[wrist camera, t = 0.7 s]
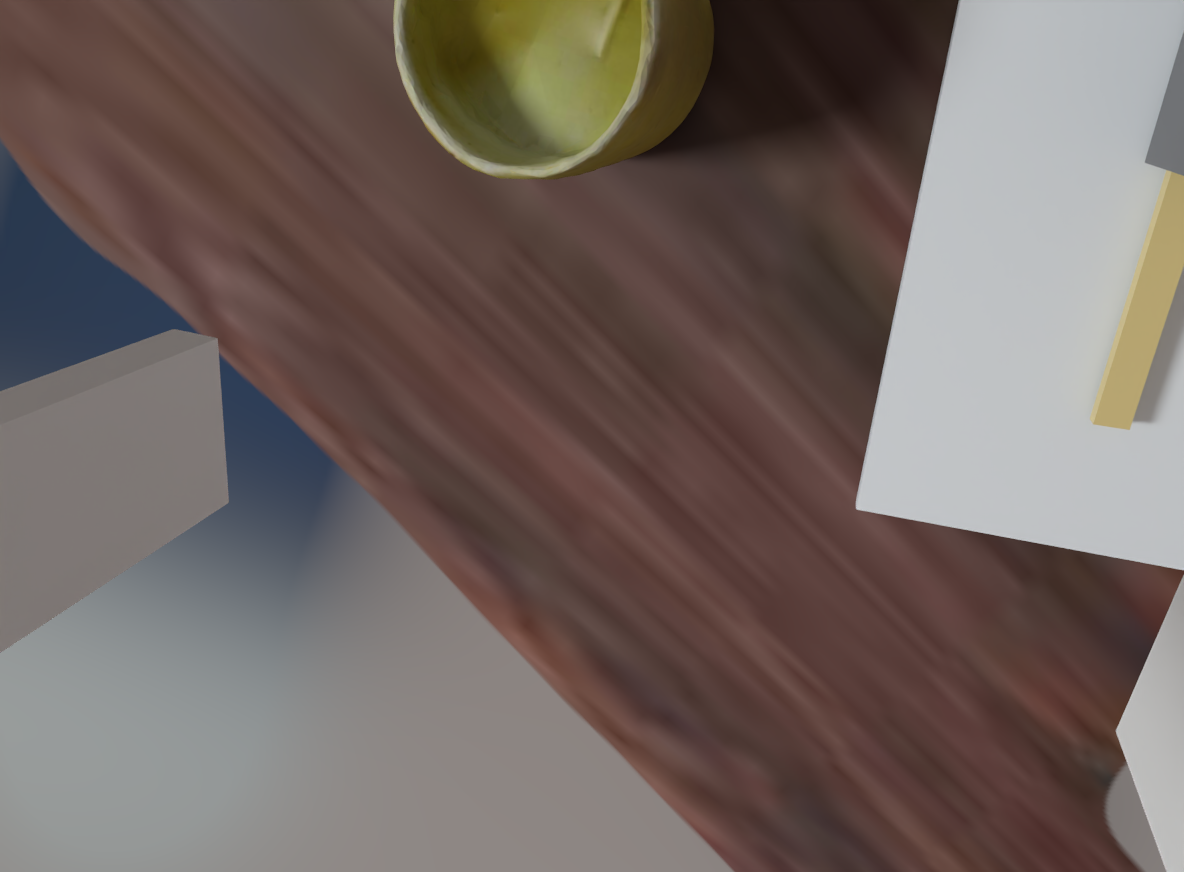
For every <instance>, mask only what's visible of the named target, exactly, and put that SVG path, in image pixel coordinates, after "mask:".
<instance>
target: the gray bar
mask: <svg viewBox="0 0 1184 872" xmlns="http://www.w3.org/2000/svg"><path fill="white" fill-rule="evenodd" d="M1145 163H1147V164H1150V165H1153V166H1156V167H1159V168H1162V169H1165V170H1166V173H1165V176H1164V179H1163V183H1162V186H1161V189H1160V192H1159V196H1158V199H1157V202H1156V205H1155V209H1154V212H1153V215H1152V218H1151V222H1150V225H1149V228H1148V231H1147V234H1146V238H1145V241H1144V244H1143V247H1142V251H1141V254H1140V257H1139V260H1138V264H1137V267H1136V270H1135V273H1134V277H1133V280H1132V283H1131V286H1130V290H1129V293H1128V296H1127V299H1126V303H1125V306H1124V309H1123V312H1122V315H1121V319H1120V322H1119V325H1118V328H1117V332H1116V335H1115V338H1114V341H1113V345H1112V348H1111V351H1110V354H1109V358H1108V361H1107V364H1106V367H1105V371H1104V374H1103V377H1102V380H1101V384H1100V387H1099V390H1098V393H1097V396H1096V400H1095V403H1094V406H1093V409H1092V413H1091V416H1090V420H1091V422H1092V423H1093V424H1094V425H1100V426H1107V427H1113V428H1120V429H1126V430H1130V427H1131V424H1132V421H1133V418H1134V415H1135V412H1136V409H1137V406H1138V403H1139V400H1140V397H1141V394H1142V391H1143V388H1144V385H1145V382H1146V379H1147V376H1148V373H1149V370H1150V367H1151V364H1152V361H1153V358H1154V355H1155V351H1156V348H1157V345H1158V342H1159V339H1160V336H1161V333H1162V330H1163V327H1164V324H1165V321H1166V318H1167V315H1168V312H1169V309H1170V306H1171V303H1172V300H1173V297H1174V294H1175V291H1176V288H1177V285H1178V282H1179V279H1180V276H1181V273H1182V270H1183V266H1184V32H1183V35H1182V39H1181V42H1180V45H1179V49H1178V52H1177V55H1176V59H1175V62H1174V65H1173V69H1172V72H1171V75H1170V79H1169V82H1168V85H1167V89H1166V92H1165V95H1164V99H1163V102H1162V106H1161V109H1160V112H1159V116H1158V119H1157V122H1156V126H1155V129H1154V132H1153V136H1152V139H1151V142H1150V146H1149V149H1148V152H1147V156H1146V159H1145Z"/></svg>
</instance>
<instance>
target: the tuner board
mask: <svg viewBox="0 0 1184 872" xmlns="http://www.w3.org/2000/svg"><path fill="white" fill-rule="evenodd" d="M1183 32H1184V0H959V2H958V7H957V12H956V16H955V21H954V26H953V31H952V36H951V41H950V46H949V50H948V55H947V60H946V65H945V70H944V75H943V80H942V85H941V89H940V94H939V99H938V104H937V109H936V114H935V119H934V123H933V128H932V133H931V138H930V143H929V148H928V153H927V158H926V162H925V167H924V172H923V177H922V182H921V187H920V192H919V196H918V201H917V206H916V211H915V216H914V221H913V226H912V230H911V235H910V240H909V245H908V250H907V255H906V260H905V265H904V269H903V274H902V279H901V284H900V289H899V294H898V299H897V303H896V308H895V313H894V318H893V323H892V328H891V333H890V338H889V342H888V347H887V352H886V357H885V362H884V367H883V372H882V376H881V381H880V386H879V391H878V396H877V401H876V406H875V411H874V415H873V420H872V425H871V430H870V435H869V440H868V445H867V449H866V454H865V459H864V464H863V469H862V474H861V479H860V484H859V488H858V493H857V498H856V509H857V510H863V511H868V512H873V513H879V514H884V515H889V516H895V517H900V518H906V519H911V520H916V521H922V522H927V523H932V524H938V525H943V526H949V527H954V528H959V529H965V530H970V531H976V532H981V533H986V534H992V535H997V536H1002V537H1008V538H1013V539H1019V540H1024V541H1029V542H1035V543H1040V544H1045V545H1051V546H1056V547H1062V548H1067V549H1072V550H1078V551H1083V552H1088V553H1094V554H1099V555H1105V556H1110V557H1115V558H1121V559H1126V560H1132V561H1137V562H1142V563H1148V564H1153V565H1158V566H1164V567H1169V568H1175V569H1180V570H1184V266H1183V270H1182V273H1181V276H1180V279H1179V282H1178V285H1177V288H1176V291H1175V294H1174V297H1173V300H1172V303H1171V306H1170V309H1169V312H1168V315H1167V318H1166V321H1165V324H1164V327H1163V330H1162V333H1161V336H1160V339H1159V342H1158V345H1157V348H1156V351H1155V355H1154V358H1153V361H1152V364H1151V367H1150V370H1149V373H1148V376H1147V379H1146V382H1145V385H1144V388H1143V391H1142V394H1141V397H1140V400H1139V403H1138V406H1137V409H1136V412H1135V415H1134V418H1133V421H1132V424H1131V427H1130V430H1126V429H1120V428H1113V427H1107V426H1100V425H1094V424H1093V423H1092V422H1091V420H1090V416H1091V413H1092V409H1093V406H1094V403H1095V400H1096V396H1097V393H1098V390H1099V387H1100V384H1101V380H1102V377H1103V374H1104V371H1105V367H1106V364H1107V361H1108V358H1109V354H1110V351H1111V348H1112V345H1113V341H1114V338H1115V335H1116V332H1117V328H1118V325H1119V322H1120V319H1121V315H1122V312H1123V309H1124V306H1125V303H1126V299H1127V296H1128V293H1129V290H1130V286H1131V283H1132V280H1133V277H1134V273H1135V270H1136V267H1137V264H1138V260H1139V257H1140V254H1141V251H1142V247H1143V244H1144V241H1145V238H1146V234H1147V231H1148V228H1149V225H1150V222H1151V218H1152V215H1153V212H1154V209H1155V205H1156V202H1157V199H1158V196H1159V192H1160V189H1161V186H1162V183H1163V179H1164V176H1165V173H1166V170H1165V169H1162V168H1159V167H1156V166H1153V165H1150V164H1147V163H1145V159H1146V156H1147V152H1148V149H1149V146H1150V142H1151V139H1152V136H1153V132H1154V129H1155V126H1156V122H1157V119H1158V116H1159V112H1160V109H1161V106H1162V102H1163V99H1164V95H1165V92H1166V89H1167V85H1168V82H1169V79H1170V75H1171V72H1172V69H1173V65H1174V62H1175V59H1176V55H1177V52H1178V49H1179V45H1180V42H1181V39H1182V35H1183Z"/></svg>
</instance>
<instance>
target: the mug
mask: <svg viewBox="0 0 1184 872" xmlns="http://www.w3.org/2000/svg"><path fill="white" fill-rule="evenodd" d="M394 40H395V51H396V60H397V64H398V68H399V71H400V74H401V78H402V81H403V84H404V86H405V89H406V91H407V94H408V96H409V99H410V101H411V103H412V105H413V106H414V108H415V109H416V111H417V113H418V114H419V116H420V117H421V119H422V121H423V122H424V124H425V126H426V128H427V129H428V131H429V132H430V133H431V134H432V135H433V137H434V138H435V139H436V140H437V141H438V142H439V143H440V144H441V145H442V146H443V147H444V148H445V149H446V150H447V151H448V152H449V153H450V154H451V155H452V156H454V157H455V158H456V159H458V160H459V161H460V162H462V163H463V164H465V165H467V166H469V167H470V168H472V169H474V170H476V171H479V172H482V173H485V174H488V175H491V176H494V177H498V178H509V179H559V178H563V177H569V176H576V175H580V174H583V173H586V172H591V171H594V170H596V169H598V168H601V167H605V166H609V165H612V164H615V163H618V162H620V161H622V160H626V159H629V158H632V157H634V156H637V155H639V154H641V153H644V152H646V151H648V150H650V149H651V148H653V147H654V146H656V145H658V144H659V143H660V142H662V141H663V140H664V139H665V138H667V137H668V136H669V135H670V134H671V133H672V132H673V131H674V130H675V129H676V128H677V127H678V126H679V125H680V124H681V123H682V122H683V120H684V119H685V118H686V116H687V115H688V113H689V112H690V111H691V109H692V108H693V106H694V104H695V102H696V100H697V98H698V96H699V94H700V92H701V90H702V87H703V85H704V83H705V80H706V77H707V74H708V71H709V68H710V65H711V61H712V56H713V44H714V21H713V12H712V8H711V5H710V1H709V0H395V4H394Z"/></svg>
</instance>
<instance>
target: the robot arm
mask: <svg viewBox="0 0 1184 872" xmlns="http://www.w3.org/2000/svg"><path fill="white" fill-rule="evenodd" d="M228 502H229V498H228V484H227V469H226V454H225V440H224V427H223V412H222V396H221V382H220V367H219V352H218V338H213V337H209V336H204V335H199V334H194V333H190V332H185V331H180V330H175V329H172V330H170V331H167V332H164V333H162V334H159V335H156V336H153V337H150V338H148V339H145V340H142V341H139V342H137V343H134V344H131V345H128V346H125V347H123V348H120V349H117V350H114V351H112V352H109V353H106V354H103V355H100V356H98V357H95V358H92V359H89V360H86V361H84V362H81V363H78V364H76V365H73V366H70V367H67V368H64V369H62V370H59V371H56V372H53V373H51V374H48V375H45V376H42V377H39V378H37V379H34V380H31V381H28V382H25V383H23V384H20V385H18V386H15V387H12V388H9V389H6V390H3V391H0V653H1V652H2V651H4V650H5V649H7V648H8V647H10V646H11V645H12V644H14V643H16V642H17V641H19V640H20V639H22V638H23V637H25V636H26V635H28V634H29V633H31V632H32V631H34V630H36V629H37V628H39V627H40V626H41V625H43V624H45V623H46V622H48V621H49V620H51V619H52V618H54V617H55V616H57V615H58V614H60V613H61V612H63V611H64V610H66V609H67V608H69V607H70V606H72V605H73V604H75V603H77V602H78V601H80V600H81V599H83V598H84V597H86V596H87V595H89V594H90V593H92V592H93V591H95V590H96V589H98V588H99V587H101V586H102V585H104V584H105V583H107V582H109V581H110V580H112V579H113V578H115V577H116V576H118V575H119V574H121V573H122V572H123V571H125V570H127V569H128V568H130V567H131V566H133V565H134V564H136V563H137V562H139V561H140V560H142V559H144V558H145V557H147V556H148V555H150V554H151V553H153V552H154V551H156V550H157V549H159V548H160V547H162V546H163V545H165V544H166V543H168V542H169V541H171V540H172V539H174V538H175V537H177V536H178V535H180V534H181V533H183V532H184V531H186V530H188V529H189V528H191V527H192V526H194V525H195V524H197V523H198V522H199V521H201V520H203V519H204V518H206V517H207V516H209V515H210V514H212V513H213V512H215V511H217V510H218V509H219V508H221V507H223V506H224V505H226V504H227V503H228ZM1116 733H1117V736H1118V739H1119V741H1120V744H1121V747H1122V750H1123V753H1124V755H1125V758H1126V761H1127V764H1128V766H1129V769H1130V772H1131V775H1132V777H1133V780H1134V783H1135V786H1136V789H1137V791H1138V794H1139V797H1140V799H1141V802H1142V805H1143V808H1144V811H1145V814H1146V816H1147V819H1148V822H1149V825H1150V827H1151V830H1152V833H1153V836H1154V838H1155V841H1156V844H1157V847H1158V849H1159V852H1160V855H1161V857H1162V860H1163V863H1164V866H1165V869H1166V871H1167V872H1184V575H1183V578H1182V580H1181V582H1180V585H1179V587H1178V589H1177V592H1176V594H1175V596H1174V598H1173V601H1172V603H1171V605H1170V608H1169V610H1168V612H1167V615H1166V617H1165V619H1164V622H1163V624H1162V626H1161V628H1160V631H1159V633H1158V635H1157V638H1156V640H1155V642H1154V645H1153V647H1152V649H1151V651H1150V654H1149V656H1148V658H1147V661H1146V663H1145V665H1144V668H1143V670H1142V672H1141V674H1140V677H1139V679H1138V681H1137V684H1136V686H1135V688H1134V691H1133V693H1132V695H1131V697H1130V700H1129V702H1128V704H1127V707H1126V709H1125V711H1124V714H1123V716H1122V718H1121V720H1120V723H1119V725H1118V727H1117V730H1116Z"/></svg>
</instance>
